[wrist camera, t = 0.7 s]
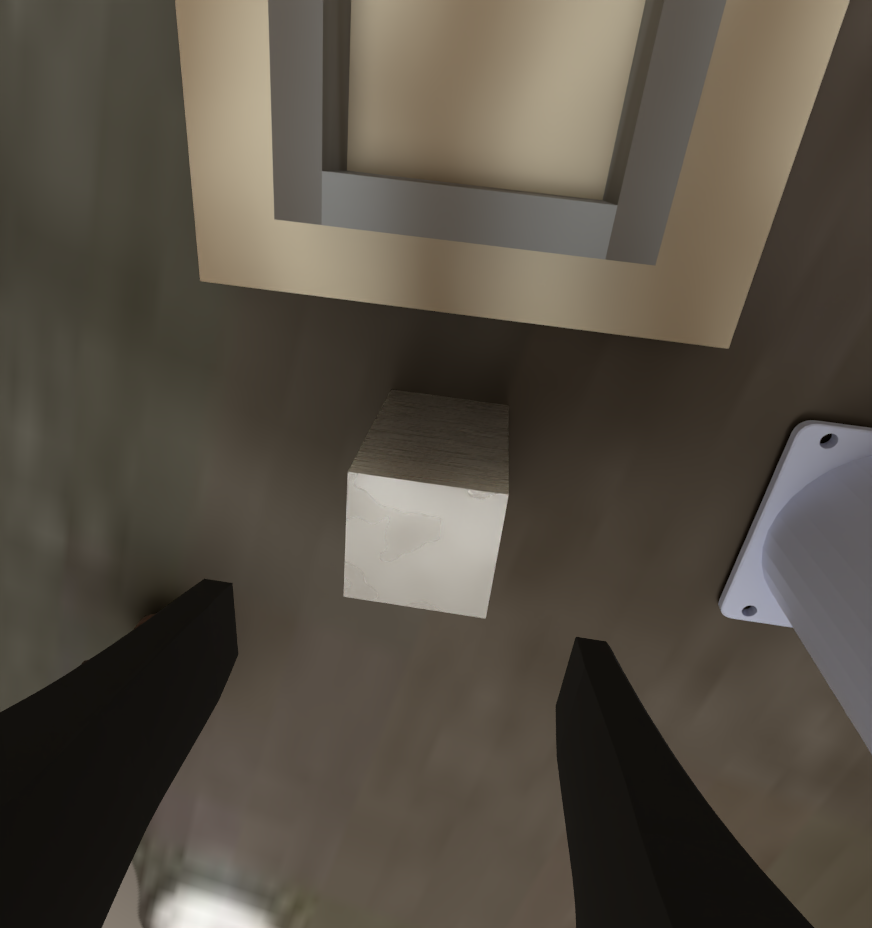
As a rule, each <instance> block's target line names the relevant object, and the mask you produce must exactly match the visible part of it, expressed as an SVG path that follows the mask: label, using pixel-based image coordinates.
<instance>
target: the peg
mask: <svg viewBox="0 0 872 928" xmlns="http://www.w3.org/2000/svg"><path fill="white" fill-rule="evenodd" d="M508 496H509V445H508V405H502V404H495V403H488V402H480V401H473V400H465V399H458V398H451V397H443V396H436V395H429V394H421V393H414V392H406V391H399V390H392V389H391V391H390V393H389V394H388V396H387V398H386V400H385V402H384V404H383V406H382V408H381V410H380V411H379V413H378V415H377V417H376V419H375V421H374V423H373V425H372V427H371V429H370V430H369V432H368V434H367V436H366V438H365V440H364V442H363V444H362V446H361V448H360V449H359V451H358V453H357V455H356V457H355V459H354V461H353V463H352V465H351V467H350V468H349V470H348V480H347V510H346V541H345V571H344V597H350V598H357V599H363V600H370V601H376V602H383V603H389V604H395V605H402V606H408V607H415V608H421V609H428V610H434V611H441V612H447V613H454V614H460V615H466V616H473V617H479V618H486V614H487V608H488V603H489V598H490V592H491V587H492V582H493V576H494V571H495V565H496V560H497V555H498V549H499V544H500V539H501V533H502V528H503V523H504V517H505V512H506V507H507V501H508Z"/></svg>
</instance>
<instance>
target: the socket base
mask: <svg viewBox="0 0 872 928" xmlns="http://www.w3.org/2000/svg"><path fill="white" fill-rule="evenodd" d="M849 1H850V0H175V4H176V15H177V26H178V37H179V48H180V60H181V71H182V82H183V93H184V105H185V116H186V127H187V138H188V149H189V161H190V172H191V183H192V194H193V205H194V217H195V228H196V239H197V250H198V262H199V273H200V281H203V282H211V283H219V284H227V285H234V286H242V287H250V288H258V289H266V290H274V291H281V292H289V293H297V294H305V295H313V296H320V297H328V298H336V299H344V300H352V301H359V302H367V303H375V304H383V305H391V306H399V307H406V308H414V309H422V310H430V311H438V312H445V313H453V314H461V315H469V316H477V317H484V318H492V319H500V320H508V321H516V322H523V323H531V324H539V325H547V326H555V327H563V328H570V329H578V330H586V331H594V332H602V333H609V334H617V335H625V336H633V337H641V338H648V339H656V340H664V341H672V342H680V343H687V344H695V345H703V346H711V347H719V348H727V349H729V346H730V343H731V340H732V337H733V334H734V331H735V328H736V326H737V323H738V320H739V317H740V314H741V311H742V308H743V305H744V303H745V300H746V297H747V294H748V291H749V288H750V285H751V282H752V280H753V277H754V274H755V271H756V268H757V265H758V262H759V259H760V257H761V254H762V251H763V248H764V245H765V242H766V239H767V236H768V234H769V231H770V228H771V225H772V222H773V219H774V216H775V213H776V211H777V208H778V205H779V202H780V199H781V196H782V193H783V191H784V188H785V185H786V182H787V179H788V176H789V173H790V170H791V168H792V165H793V162H794V159H795V156H796V153H797V150H798V147H799V145H800V142H801V139H802V136H803V133H804V130H805V127H806V124H807V122H808V119H809V116H810V113H811V110H812V107H813V104H814V101H815V99H816V96H817V93H818V90H819V87H820V84H821V81H822V78H823V76H824V73H825V70H826V67H827V64H828V61H829V58H830V55H831V53H832V50H833V47H834V44H835V41H836V38H837V35H838V32H839V30H840V27H841V24H842V21H843V18H844V15H845V12H846V9H847V7H848V4H849Z"/></svg>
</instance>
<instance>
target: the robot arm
mask: <svg viewBox="0 0 872 928" xmlns="http://www.w3.org/2000/svg"><path fill="white" fill-rule="evenodd" d="M827 434H832V437H831V438H830V440H829V441H827V442H825V443H820V440H821V438H822V437H823V436H825V435H827ZM718 605H719V608H720V610H721V612H722V614H723V615H724V616H726V617H728V618H732V619H739V620H746V621H752V622H759V623H765V624H772V625H779V626H785V627H792V628H794V630H795V632H796V633H797V635H798V636H799V638H800V640H801V641H802V643H803V645H804V646H805V648H806V649H807V651H808V653H809V654H810V656H811V657H812V659H813V661H814V662H815V664H816V665H817V667H818V669H819V670H820V672H821V674H822V675H823V677H824V678H825V680H826V682H827V683H828V685H829V686H830V688H831V690H832V691H833V693H834V695H835V696H836V698H837V699H838V701H839V703H840V704H841V706H842V707H843V709H844V711H845V712H846V714H847V715H848V717H849V719H850V720H851V722H852V724H853V725H854V727H855V728H856V730H857V732H858V733H859V735H860V736H861V738H862V740H863V741H864V743H865V744H866V746H867V748H868V749H869V751H870V753H871V754H872V428H869V427H862V426H854V425H847V424H839V423H832V422H824V421H817V420H807V421H804V422H802V423H800V424H798V425H797V426H796V427H795V428H794V429H793V431H792V432H791V435H790V437H789V439H788V442H787V444H786V446H785V448H784V451H783V453H782V455H781V458H780V460H779V462H778V465H777V467H776V469H775V472H774V474H773V476H772V479H771V481H770V483H769V486H768V488H767V490H766V493H765V495H764V497H763V500H762V502H761V504H760V506H759V509H758V511H757V513H756V516H755V518H754V520H753V523H752V525H751V527H750V530H749V532H748V534H747V537H746V539H745V541H744V544H743V546H742V548H741V551H740V553H739V555H738V558H737V560H736V562H735V565H734V567H733V569H732V571H731V574H730V576H729V578H728V581H727V583H726V585H725V588H724V590H723V592H722V595H721V597H720V599H719V603H718ZM746 606H751V607H750V608H748V609H743V608H744V607H746ZM237 656H238V646H237V634H236V622H235V610H234V598H233V586H232V583H227V582H221V581H214V580H208V579H204V580H202V581H201V582H199V583H198V584H196V585H195V586H194V587H192V588H191V589H189V590H188V591H187V592H185V593H184V594H182V595H181V596H180V597H178V598H177V599H176V600H174V601H173V602H171V603H170V604H169V605H167V606H166V607H165V608H163V609H162V610H160V611H159V612H158V613H156V614H155V615H154V616H152V617H151V618H149V619H148V620H147V621H145V622H144V623H142V624H141V625H140V626H138V627H137V628H135V629H134V630H132V631H131V632H130V633H128V634H127V635H125V636H124V637H122V638H121V639H120V640H118V641H117V642H115V643H114V644H113V645H111V646H110V647H108V648H107V649H105V650H104V651H102V652H100V653H99V654H97V655H96V656H94V657H93V658H91V659H90V660H88V661H87V662H85V663H83V664H82V665H80V666H79V667H77V668H76V669H74V670H73V671H71V672H70V673H68V674H66V675H65V676H63V677H62V678H60V679H58V680H57V681H55V682H53V683H52V684H50V685H48V686H47V687H45V688H43V689H42V690H40V691H38V692H36V693H35V694H33V695H31V696H29V697H27V698H26V699H24V700H22V701H20V702H18V703H17V704H15V705H13V706H11V707H9V708H8V709H6V710H4V711H2V712H0V928H102V925H103V923H104V921H105V919H106V917H107V914H108V912H109V910H110V907H111V905H112V903H113V901H114V898H115V896H116V894H117V892H118V889H119V887H120V885H121V883H122V880H123V878H124V876H125V874H126V872H127V870H128V867H129V865H130V863H131V861H132V859H133V857H134V854H135V852H136V850H137V848H138V846H139V844H140V841H141V839H142V837H143V835H144V833H145V831H146V829H147V827H148V825H149V823H150V821H151V819H152V817H153V815H154V813H155V811H156V810H157V808H158V806H159V804H160V802H161V800H162V799H163V797H164V795H165V793H166V792H167V790H168V788H169V787H170V785H171V783H172V781H173V780H174V778H175V776H176V774H177V773H178V771H179V769H180V767H181V766H182V764H183V762H184V760H185V759H186V757H187V755H188V754H189V752H190V750H191V748H192V747H193V745H194V743H195V741H196V740H197V738H198V736H199V734H200V733H201V731H202V729H203V727H204V726H205V724H206V722H207V720H208V719H209V717H210V715H211V713H212V711H213V710H214V708H215V706H216V704H217V702H218V701H219V699H220V696H221V694H222V692H223V689H224V687H225V685H226V683H227V680H228V678H229V676H230V673H231V671H232V668H233V666H234V663H235V661H236V658H237ZM556 745H557V762H558V770H559V778H560V786H561V794H562V801H563V809H564V816H565V824H566V832H567V839H568V847H569V854H570V862H571V869H572V877H573V887H574V897H575V910H576V928H814V927H813V926H812V925H811V924H810V923H809V922H808V921H807V919H806V918H805V917H804V916H803V915H802V914H801V913H800V912H799V911H798V910H797V908H796V907H795V906H794V905H793V904H792V903H791V902H790V901H789V900H788V898H787V897H786V896H785V895H784V894H783V893H782V892H781V891H780V890H779V889H778V887H777V886H776V885H775V884H774V883H773V882H772V881H771V880H770V879H769V878H768V876H767V875H766V874H765V873H764V872H763V871H762V870H761V869H760V867H759V866H758V865H757V864H756V863H755V861H754V860H753V859H752V858H751V857H750V855H749V854H748V853H747V852H746V851H745V850H744V848H743V847H742V846H741V845H740V844H739V842H738V841H737V840H736V839H735V837H734V836H733V835H732V833H731V832H730V831H729V830H728V828H727V827H726V826H725V825H724V823H723V822H722V821H721V820H720V818H719V817H718V816H717V814H716V813H715V812H714V810H713V809H712V808H711V806H710V805H709V804H708V802H707V801H706V800H705V798H704V797H703V796H702V794H701V793H700V792H699V790H698V789H697V787H696V786H695V785H694V783H693V782H692V780H691V779H690V777H689V776H688V775H687V773H686V772H685V770H684V769H683V767H682V766H681V764H680V763H679V762H678V760H677V759H676V757H675V756H674V754H673V753H672V751H671V750H670V748H669V747H668V745H667V743H666V742H665V740H664V739H663V737H662V735H661V734H660V732H659V731H658V729H657V728H656V726H655V724H654V723H653V721H652V720H651V718H650V716H649V715H648V713H647V711H646V710H645V708H644V706H643V705H642V703H641V701H640V700H639V698H638V696H637V695H636V693H635V691H634V689H633V688H632V686H631V684H630V682H629V681H628V679H627V677H626V675H625V674H624V672H623V670H622V668H621V666H620V664H619V663H618V661H617V659H616V657H615V655H614V653H613V652H612V650H611V648H610V646H609V645H608V644H607V642H606V641H599V640H593V639H586V638H580V637H576V638H575V641H574V645H573V648H572V652H571V655H570V659H569V662H568V666H567V669H566V673H565V676H564V679H563V683H562V686H561V690H560V693H559V697H558V700H557V704H556Z"/></svg>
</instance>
